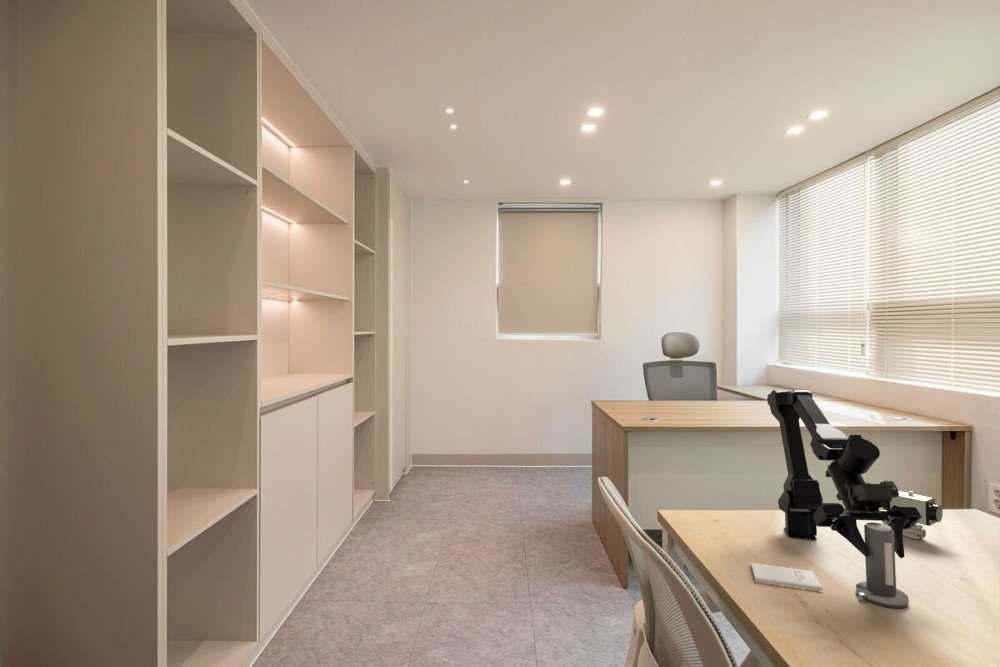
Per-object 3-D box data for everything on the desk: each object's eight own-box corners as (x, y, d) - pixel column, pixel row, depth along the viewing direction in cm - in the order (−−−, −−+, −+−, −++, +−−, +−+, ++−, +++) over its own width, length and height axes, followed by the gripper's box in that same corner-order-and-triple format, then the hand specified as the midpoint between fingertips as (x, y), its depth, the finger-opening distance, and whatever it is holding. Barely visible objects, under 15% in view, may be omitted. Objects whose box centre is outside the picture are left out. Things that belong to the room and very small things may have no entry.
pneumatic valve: (936, 546, 125) (935, 498, 125) (882, 532, 135) (880, 487, 135) (945, 541, 128) (943, 495, 128) (890, 527, 138) (889, 484, 138)
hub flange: (879, 585, 105) (879, 580, 105) (920, 606, 96) (919, 599, 96) (842, 590, 103) (841, 584, 103) (880, 611, 95) (880, 604, 95)
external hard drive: (750, 568, 114) (812, 577, 110) (755, 585, 106) (822, 594, 102) (750, 561, 114) (812, 569, 110) (755, 577, 106) (822, 586, 102)
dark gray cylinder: (861, 585, 102) (858, 521, 103) (886, 586, 102) (883, 522, 102) (877, 597, 97) (875, 530, 98) (904, 598, 97) (901, 531, 97)
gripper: (819, 465, 105) (851, 537, 94) (914, 466, 103) (958, 540, 92) (801, 491, 113) (829, 561, 102) (889, 493, 111) (927, 564, 100)
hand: (885, 556), depth 99 cm, fingers open, 6 cm apart
